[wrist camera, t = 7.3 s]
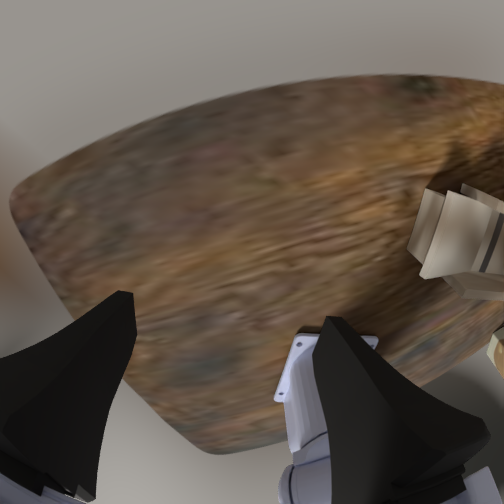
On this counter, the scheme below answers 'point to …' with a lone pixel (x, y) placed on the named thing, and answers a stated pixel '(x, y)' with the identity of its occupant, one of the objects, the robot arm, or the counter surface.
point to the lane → (461, 241)
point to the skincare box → (497, 350)
